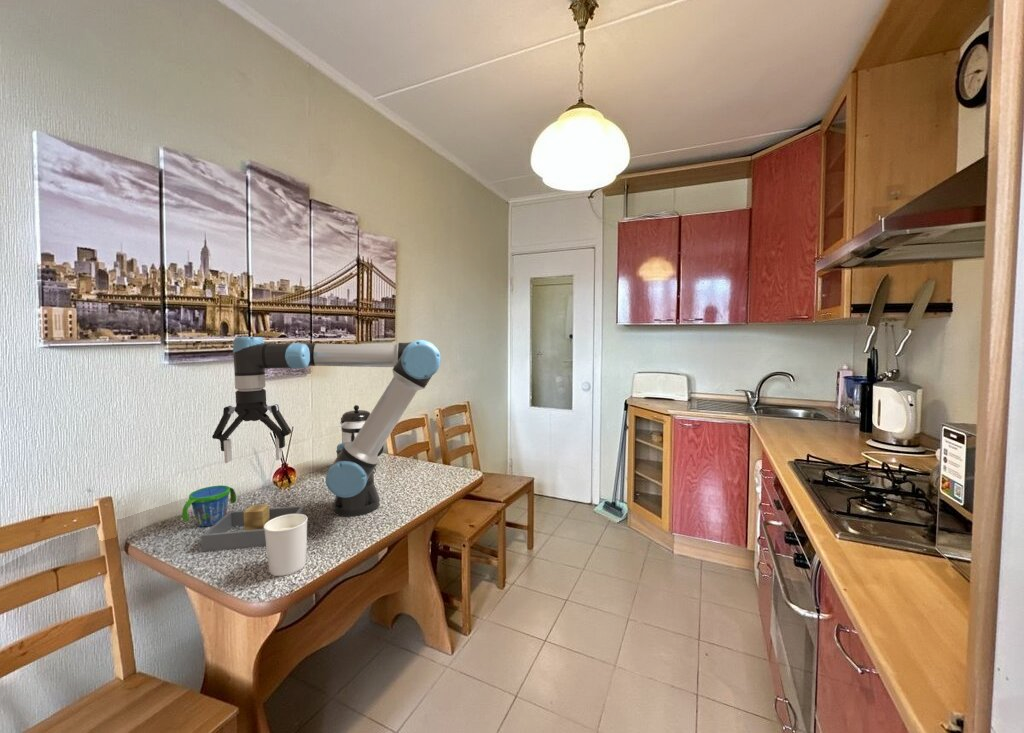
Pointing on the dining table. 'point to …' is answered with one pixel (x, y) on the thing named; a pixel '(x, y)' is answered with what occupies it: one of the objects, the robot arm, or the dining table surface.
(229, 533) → the charcoal bin
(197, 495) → the snack cup
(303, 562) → the candle holder
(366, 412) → the coffee press
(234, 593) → the dining table surface
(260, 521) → the ochre block
